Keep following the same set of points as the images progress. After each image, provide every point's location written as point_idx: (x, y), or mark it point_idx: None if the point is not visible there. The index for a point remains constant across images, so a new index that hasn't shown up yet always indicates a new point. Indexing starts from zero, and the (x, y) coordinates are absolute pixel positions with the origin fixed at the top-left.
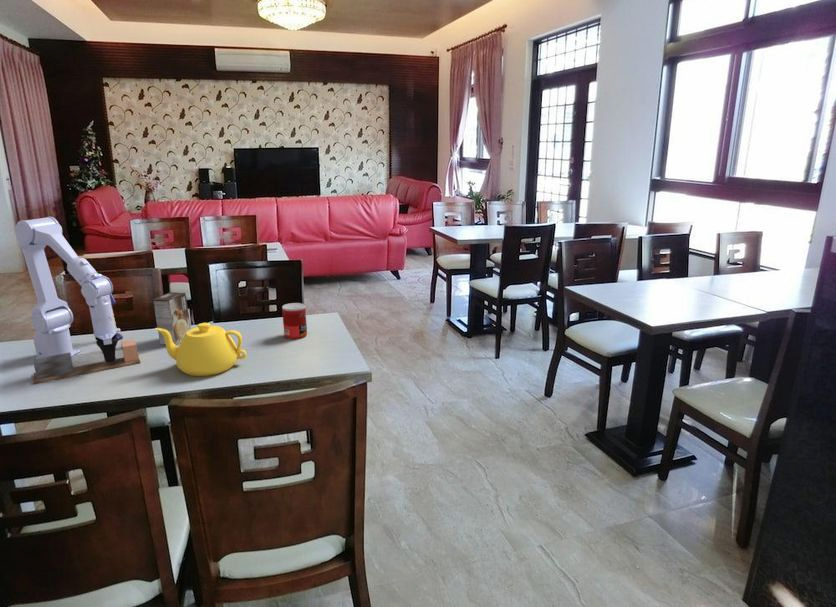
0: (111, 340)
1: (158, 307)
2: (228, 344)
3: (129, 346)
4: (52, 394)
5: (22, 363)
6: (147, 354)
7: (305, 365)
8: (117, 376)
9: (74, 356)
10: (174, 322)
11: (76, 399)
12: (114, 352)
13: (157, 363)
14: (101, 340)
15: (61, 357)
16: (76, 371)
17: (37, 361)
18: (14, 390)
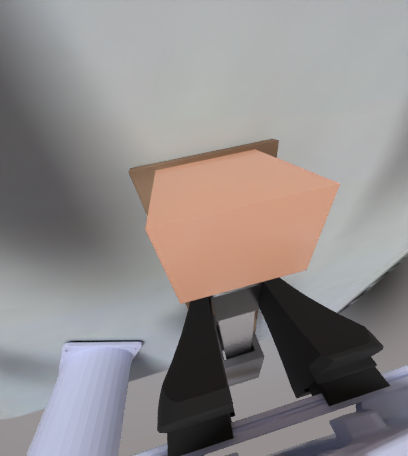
0: (339, 366)
1: None
2: None
3: (313, 231)
4: (321, 298)
5: (136, 371)
6: (133, 94)
7: None
8: (340, 213)
9: (233, 350)
10: None
11: (383, 263)
12: (278, 277)
13: (354, 4)
14: (307, 392)
15: (251, 366)
16: None
17: (247, 379)
18: (261, 337)
